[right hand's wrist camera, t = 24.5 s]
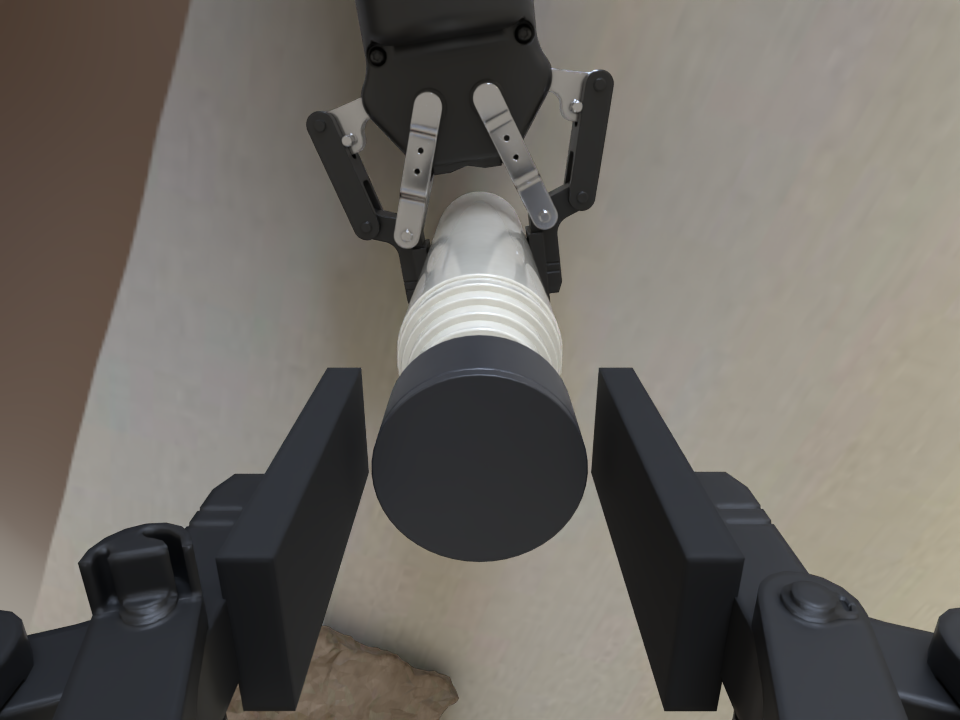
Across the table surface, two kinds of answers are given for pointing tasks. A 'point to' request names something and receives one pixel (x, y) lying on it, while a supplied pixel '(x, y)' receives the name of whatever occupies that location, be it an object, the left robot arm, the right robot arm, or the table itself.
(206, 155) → the table surface
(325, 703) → the stone
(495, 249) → the bottle
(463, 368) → the cap
